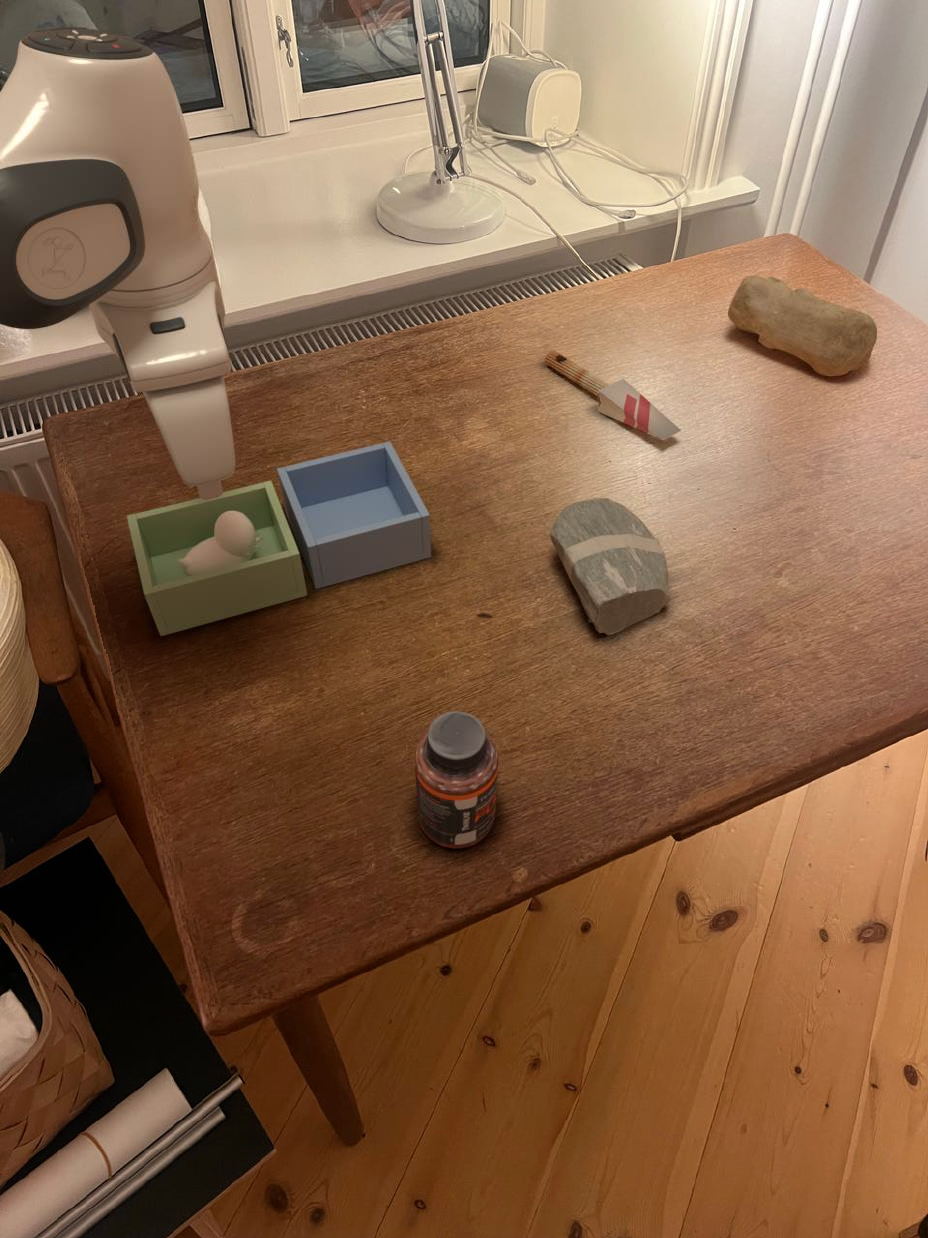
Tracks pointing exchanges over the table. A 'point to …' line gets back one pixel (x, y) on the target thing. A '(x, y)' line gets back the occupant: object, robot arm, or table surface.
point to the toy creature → (223, 545)
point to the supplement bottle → (456, 780)
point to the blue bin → (355, 514)
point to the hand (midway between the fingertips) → (198, 456)
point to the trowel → (617, 399)
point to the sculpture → (803, 325)
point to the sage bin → (223, 589)
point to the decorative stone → (611, 563)
